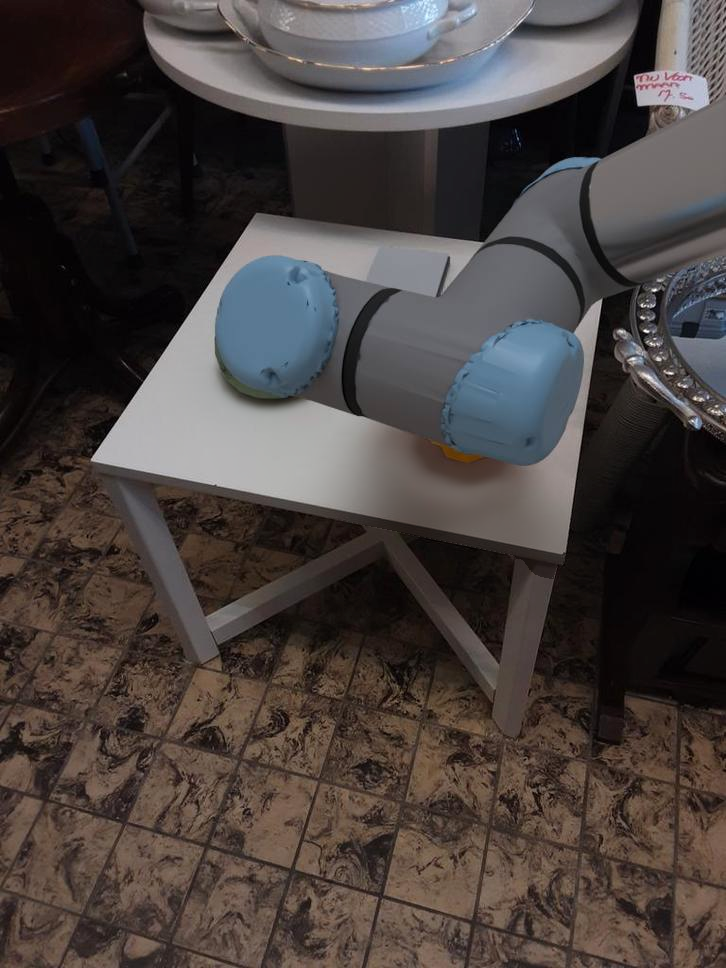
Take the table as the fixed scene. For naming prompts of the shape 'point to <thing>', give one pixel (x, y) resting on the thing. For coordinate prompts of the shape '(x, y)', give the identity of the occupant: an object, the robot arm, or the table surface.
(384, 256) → the scale
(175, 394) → the table surface
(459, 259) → the table surface
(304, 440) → the table surface
